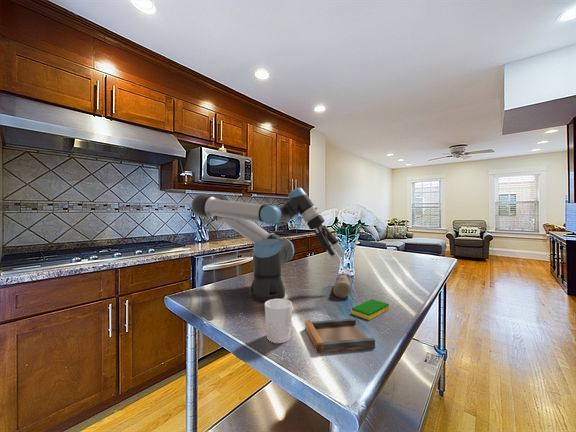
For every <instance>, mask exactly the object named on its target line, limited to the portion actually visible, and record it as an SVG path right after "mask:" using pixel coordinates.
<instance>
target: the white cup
mask: <svg viewBox="0 0 576 432" xmlns="http://www.w3.org/2000/svg"><path fill="white" fill-rule="evenodd" d="M292 309H293V302H292V301H291V300H289V299H285V298H282V299H271V300H268V301H264V319H265V329H266V340H267V339H268V340H269V342H270V341H271V342H270V343H272V342H273V344H284V343H286V342H288V341H289V340H290V339H291V329H292V313H293V310H292ZM268 340H267V341H268Z"/></svg>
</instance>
